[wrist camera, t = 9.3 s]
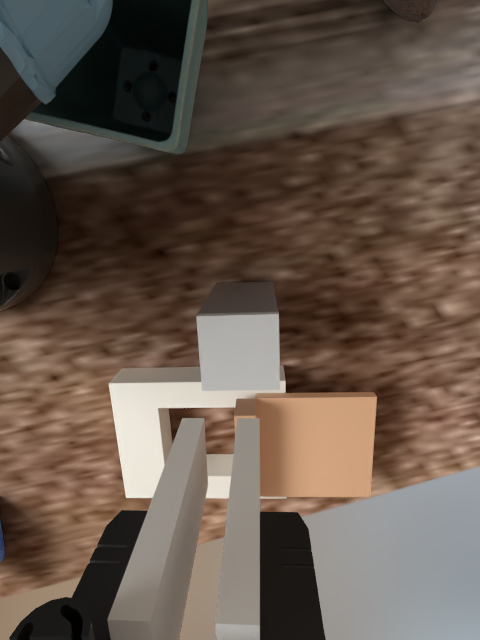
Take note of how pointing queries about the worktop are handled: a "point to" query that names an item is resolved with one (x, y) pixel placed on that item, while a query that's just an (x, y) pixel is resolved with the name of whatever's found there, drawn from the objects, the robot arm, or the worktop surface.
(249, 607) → the robot arm
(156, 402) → the socket housing
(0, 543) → the medicine box
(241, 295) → the plug
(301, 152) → the worktop surface
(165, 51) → the flower pot
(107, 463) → the worktop surface
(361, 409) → the shutter
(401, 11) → the perforated stone tool
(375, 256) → the worktop surface
